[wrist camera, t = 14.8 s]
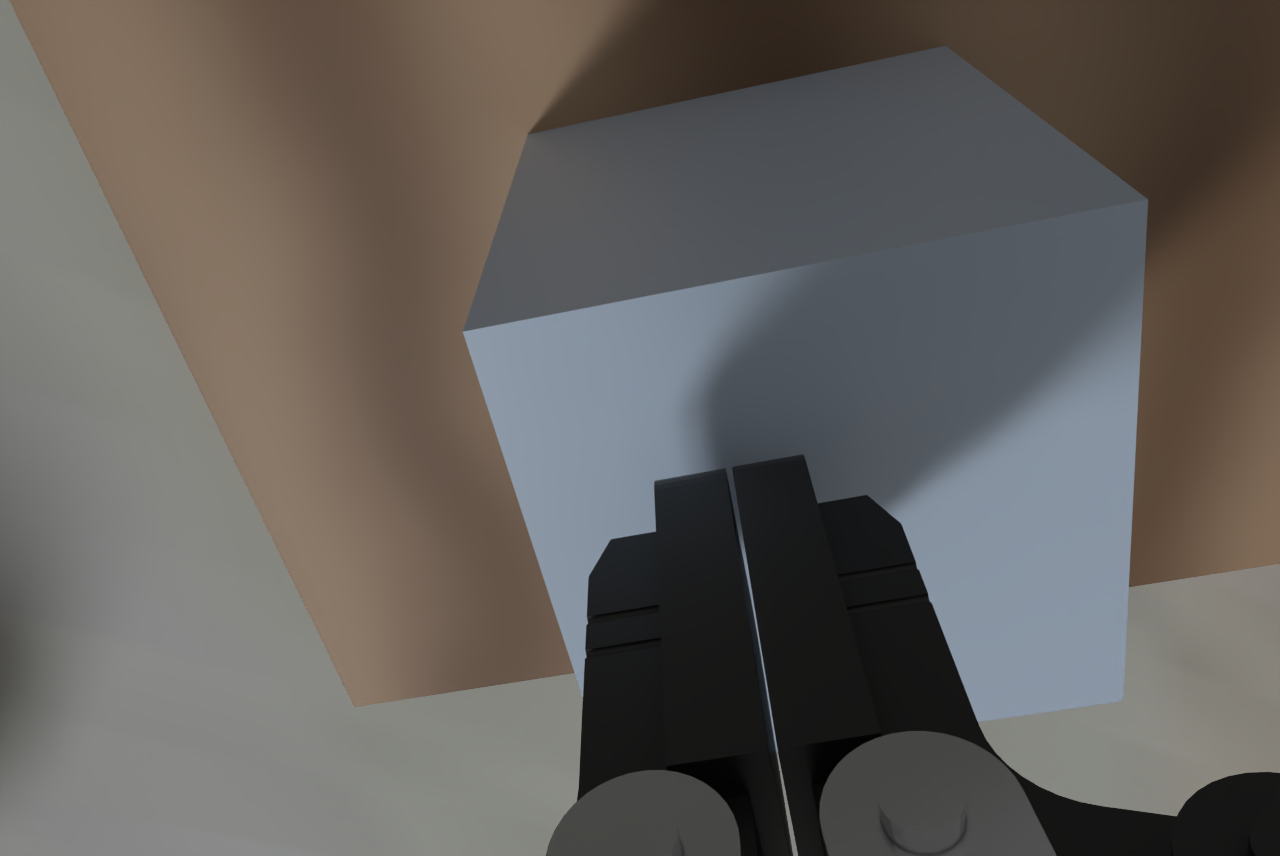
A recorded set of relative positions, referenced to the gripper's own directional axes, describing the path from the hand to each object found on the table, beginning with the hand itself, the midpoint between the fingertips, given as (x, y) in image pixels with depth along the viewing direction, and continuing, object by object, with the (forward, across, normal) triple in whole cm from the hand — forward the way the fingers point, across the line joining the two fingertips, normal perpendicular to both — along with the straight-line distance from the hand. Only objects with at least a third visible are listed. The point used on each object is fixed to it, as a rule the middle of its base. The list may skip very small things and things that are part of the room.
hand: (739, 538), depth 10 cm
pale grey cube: (+8, -1, +1) cm, 8 cm away
